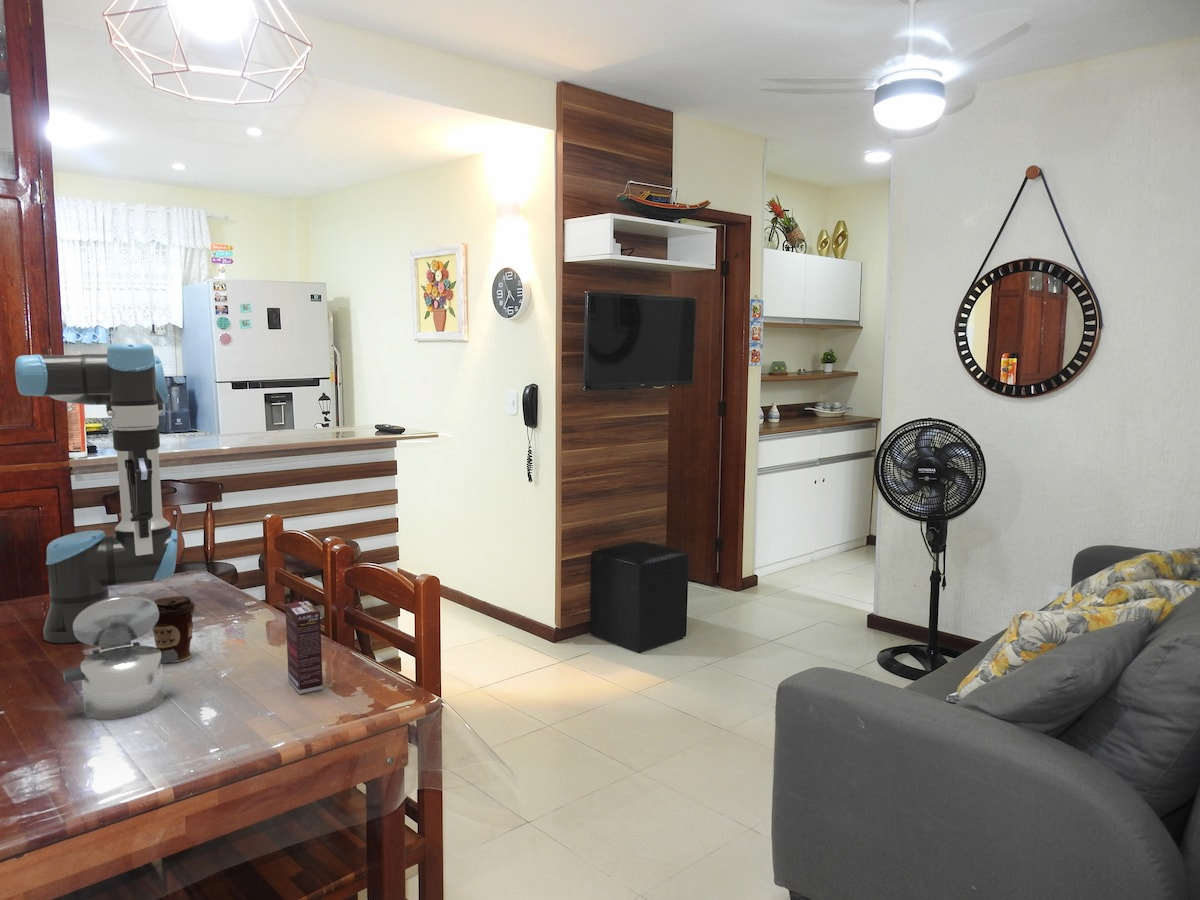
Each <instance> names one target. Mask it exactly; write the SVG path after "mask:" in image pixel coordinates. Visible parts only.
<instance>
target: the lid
mask: <svg viewBox="0 0 1200 900" xmlns="http://www.w3.org/2000/svg"><path fill="white" fill-rule="evenodd" d="M154 601H155V600H152V599H150V598H148V597H145V596H142V595H135V594H131V595H130V594H127V595H126V594H125V595H116V596H112V597H109V598H107V599H104V600H101V601H98V602H96V603H94V604H92V605H90V606H88V607H87V608H85V609H84V610H83V611H81V612H80V613H79V614H78V616H77V617H76V618H75V620H74V622H73V631H74V635H75V637H76V638H77V639H78V640H79V641H81V642H80V643H82V644H85V645H89V646H93V647H100V650H101V651H105V650H110V649H115V648H120V647H127V646H128V645H129V646H132V641H133V640H136V639H138V638H140V637H142V636H144V635H145V634H147V633H148V632H150V630H153V627H154V626H155V624H156V623H157V621H158V619H159V611H158V607H157V605H156V603H155V602H154Z"/></svg>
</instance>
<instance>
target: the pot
mask: <svg viewBox="0 0 1200 900" xmlns="http://www.w3.org/2000/svg"><path fill="white" fill-rule="evenodd" d="M91 653H92V654H91V655H90V656H88V657H86V658H85V659H83V660H82V661H81V663H80V666H78V667H75V668H74V667H73V668H71V669H65V670H64V669H63V670H62V672H63V680H64V683H65V684H68V683H73V682H79V681H81V687H82V688H81V689H82V701H83V712H84V716H86V717H87V718H90V719H92V720H99V721H100V720H101V721H107V720H108V721H109V720H111V721H112V720H119V719H126V718H131V717H134V716H139V715H142V714H145V713H147V712H149V711H151V710H153V709H155V708H158V706H160V705H161V704H162V703H163V702H164V699H165V693H164V691H165V690H164V680H163V679H164V678H163V664H169V663H168V662H170V663H174V662H173V661H178V654H177V653H176V651H175V650H174V649H172V650H166V651H160V650H159V649H158V648H157V647H156V646H150V645H141V644H140V642H139V641H136V642H132V645H129V646H128V645H127V646H120V647H115V648H109V649H105V650H102V651H100V650H99V649H92V650H91Z"/></svg>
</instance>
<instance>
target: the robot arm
mask: <svg viewBox="0 0 1200 900" xmlns="http://www.w3.org/2000/svg"><path fill="white" fill-rule="evenodd" d="M106 349H107V351H106V353H82V354H30V355H27V354H26V355H18V357H17V358H16V359H15V361H14V362H15V363H14V366H15V368H14V372H15V382H16V388H17V391H18V393H19V395H21V396H24V397H25V396H27V397H37V398H38V397H49V398H51V399H53V400H55V401H56V400H57V401H61V402H65V403H70V404H76V405H77V404H78V405H87V406H89V405H92V406H94V405H95V406H101V405H102V406H103V405H104V406H106V408H105V409H106V413H107V417H111V422H112V423H111V424H112V425H111V426H112V427H113V428H114V429H115V430H113V431H112V443H113V449H114V450H115V451H116V456H117V457H116V458H117V459H116V460H117V469H118V470H117V474H118V486H119V488H118V489H119V499H120V500H119V501H120V515H121V520H120V522H118V524H117V525H116V526H115V527H114V532H115V534H114V535H107V536H106V533H105V531H104V530H101V529H95V530H93V529H92V530H83V531H80V532H79V531H77V532H74V533H69V534H65V535H63V536H60V537H57V538H56V539H53V540H51V541H50V542H49V543H48V545H47V547H46V562H45V565H47V577H48V589H49V590H48V591H49V601H50V602H49V608H48V612H47V614H46V619H45V622H44V626H43V632H42V633H43V640H45V641H46V642H49V643H52V644H53V643H54V644H55V643H56V644H72V643H82V642H81V641H79V640H78V639H77V638H76V637H75V635H74V631H73V622H74V620H75V618H76V617H77V616H78V614H79V613H80V612H81V611H83V610H84V609H85V608H87V607H88V606H90V605H92V604H94V603H96V602H98V601H101V600H104V599H107V598H110V593H109V591H110V590H109V586H110V587H111V586H119V585H125V584H135V583H145V582H149V581H150V582H155V581H158V580H164V579H165V580H166V579H169V578H171V577H172V576H173V575H174V573H175V570H176V564H177V556H178V555H177V554H178V530H176V529H173V528H172V529H171V522H170V521H168V520H167V519H166V518H164V516H163V504H162V502H163V501H162V490H161V489H162V487H161V470H160V459H159V458H160V457H159V456H160V455H159V448H160V447H161V443H160V442H161V441H160V440H161V439H160V430H159V429H158V426H159V424H160V423H159V422H160V421H159V415H160V414H161V413H162V412H163V411H164V408H163V404H165V405H166V404H167V403H169V401H170V397H169V392H168V386H167V382H166V377H165V373H164V367H163V364H162V361H161V359H160V357H158V355H155V353H154V348H153V346H152V345H151V344H147V343H112V344H109V346H108V347H107V348H106Z"/></svg>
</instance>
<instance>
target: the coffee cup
mask: <svg viewBox="0 0 1200 900" xmlns="http://www.w3.org/2000/svg"><path fill="white" fill-rule="evenodd" d="M153 601H154V602H155V603H156V605H157V607H158V611H159V619H158V621H157V623H156V624H155V626H154V627H153V628H152V632H153V639H154V643H155V648H158V649H159V650H160V651H166V650H172V649H174V650H175V651H176V653H177V654H178V661H173V662H172V663H179V662H184V661H187V660H189V659H190V658H192V653H191V652H190V646H191V641H192V638H193V628H194V627H193V626H194V623H193V614H194V610H195V604H194V603H193V602H192V599H191V597H189V596H185V595H181V596H179V595H178V596H171V597H161V598H158V599H155V600H153ZM169 663H171V662H168V663H167V664H169Z"/></svg>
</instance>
